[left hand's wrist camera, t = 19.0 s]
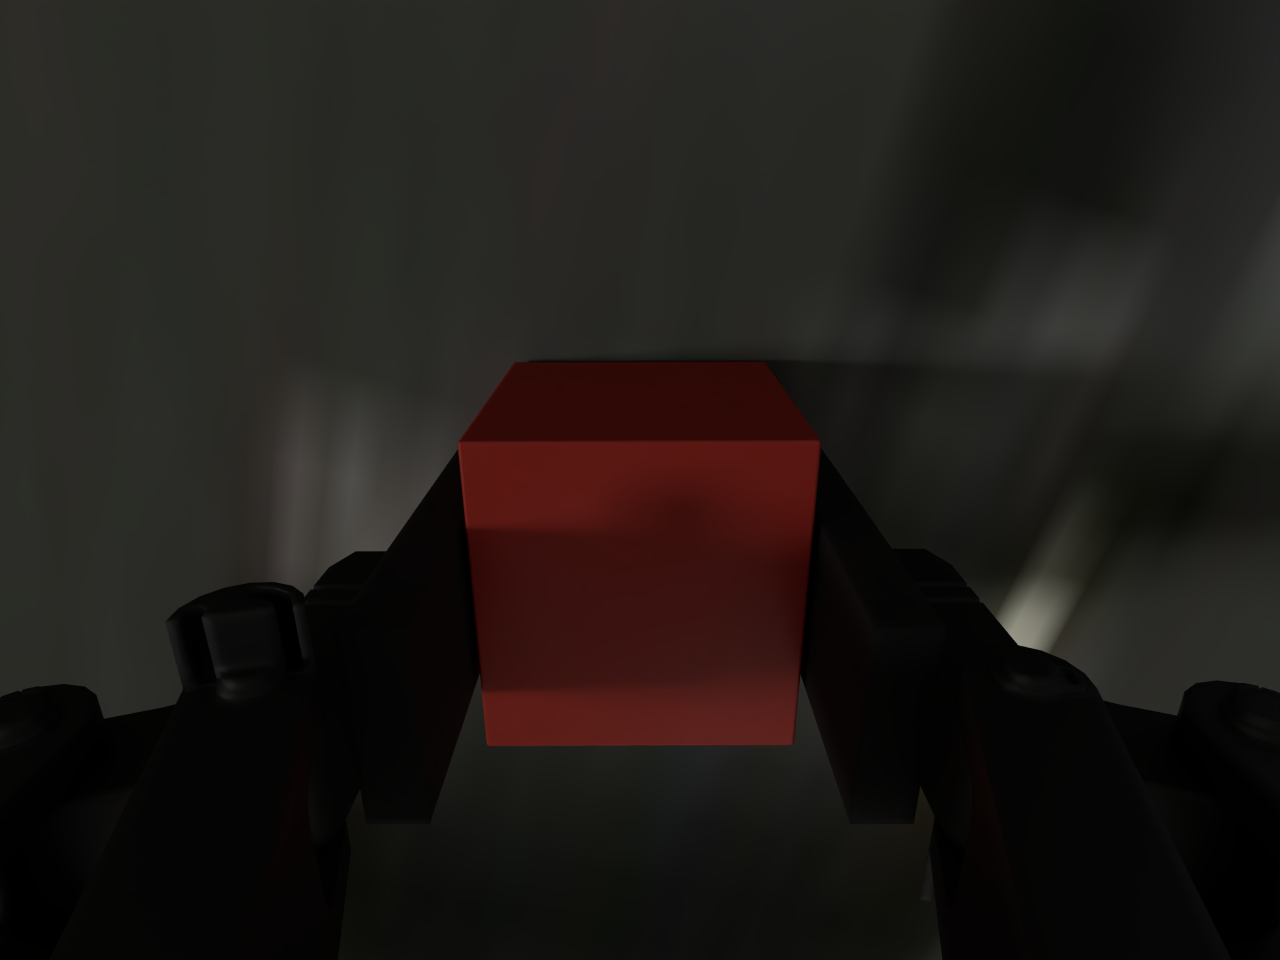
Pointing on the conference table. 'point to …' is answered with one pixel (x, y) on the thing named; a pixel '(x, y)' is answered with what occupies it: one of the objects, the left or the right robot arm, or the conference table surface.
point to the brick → (639, 553)
